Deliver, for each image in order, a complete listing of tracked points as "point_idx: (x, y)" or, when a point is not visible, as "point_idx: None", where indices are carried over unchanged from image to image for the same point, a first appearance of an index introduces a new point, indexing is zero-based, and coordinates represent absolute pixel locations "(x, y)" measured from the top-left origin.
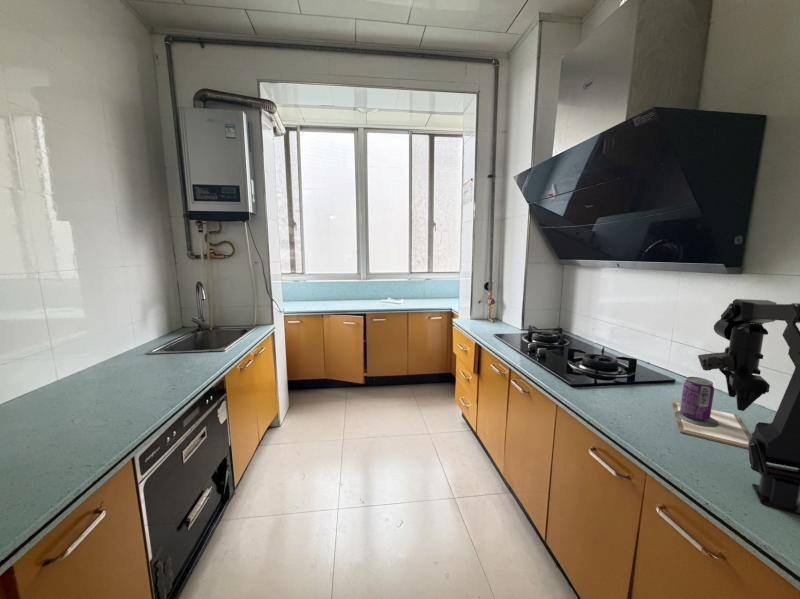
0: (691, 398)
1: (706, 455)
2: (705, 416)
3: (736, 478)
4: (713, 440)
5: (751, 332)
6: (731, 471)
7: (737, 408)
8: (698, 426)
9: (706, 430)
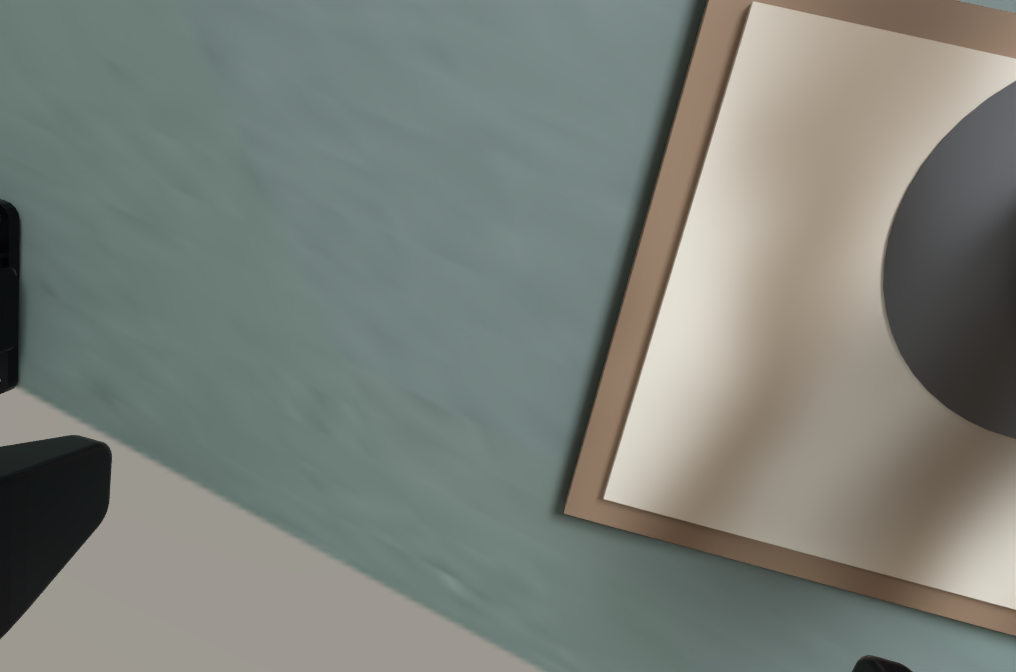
0: None
1: (324, 55)
2: None
3: (69, 145)
4: (640, 238)
5: None
6: (152, 154)
7: (86, 443)
8: (874, 193)
9: (794, 238)
